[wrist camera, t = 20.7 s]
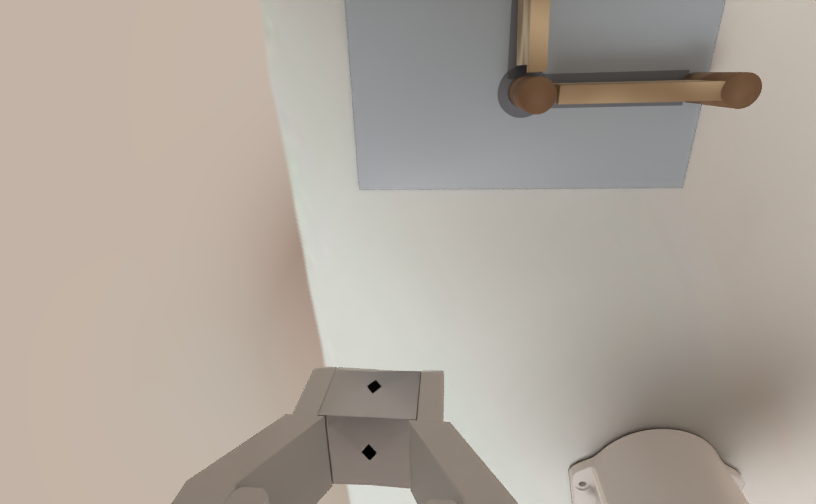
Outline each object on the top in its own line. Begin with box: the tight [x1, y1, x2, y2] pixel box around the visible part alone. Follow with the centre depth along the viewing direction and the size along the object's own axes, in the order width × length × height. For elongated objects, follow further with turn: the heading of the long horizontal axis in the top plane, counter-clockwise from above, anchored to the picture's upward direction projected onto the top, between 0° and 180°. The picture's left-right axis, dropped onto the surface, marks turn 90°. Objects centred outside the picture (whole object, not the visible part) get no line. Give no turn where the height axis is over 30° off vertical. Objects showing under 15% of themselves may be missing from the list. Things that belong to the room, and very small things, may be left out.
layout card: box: [345, 0, 725, 190], centre depth 33 cm, size 24×28×1 cm
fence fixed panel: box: [508, 72, 762, 115], centre depth 31 cm, size 2×15×6 cm, turn 92°
